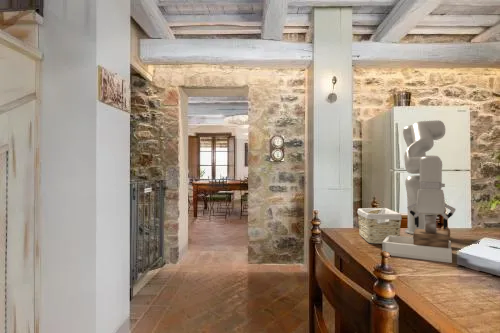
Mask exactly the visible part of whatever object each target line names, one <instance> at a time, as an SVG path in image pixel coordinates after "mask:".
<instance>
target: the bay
mask: <svg viewBox="0 0 500 333" xmlns="http://www.w3.org/2000/svg"><path fill="white" fill-rule="evenodd" d="M381 245H382V252H383V251H386V252H389V253H390V255H391V256H393V257H399V258H400V257H401V258H408V259H418V260H425V261H433V262H440V263H441V262H442V263H447V264H450V263H451V264H452V263H453V252H452V251H453V250H452V242H451V240H449V243H448V248H441V247H431V246H421V245H414V239H413V236H412V237H411V236H401V235H400V236H390V235H388V236H387V237H386V238H385V240H384V241H383V242H382V244H381ZM390 255H389V256H390Z"/></svg>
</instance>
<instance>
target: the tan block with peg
mask: <svg viewBox="0 0 500 333" xmlns="http://www.w3.org/2000/svg"><path fill="white" fill-rule="evenodd" d="M440 230H441V229H440ZM440 230H439V229H438V230H437V224H436V215H425V229H415V231H414V233H413V234H412V235H413V236H412V238H413V239H414V245H421V246H431V247H441V248H448V243H449V241H450V240H449V237H448V231H440Z"/></svg>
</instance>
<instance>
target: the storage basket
mask: <svg viewBox="0 0 500 333" xmlns="http://www.w3.org/2000/svg"><path fill="white" fill-rule="evenodd" d="M357 215H358V216H357V218H358V219H357V220H358V228H359V229H358V231H359V232H358V233H359V236H361V237H362V238H363V239H364V240H365V241H366V242H367V243H369V244H375V245H377V244H380V245H382V242H383V241H384V240H385V238H386V237H387V236H388V235H390V236H401V234H400V233H401V225H402V224H401V223H402V214H401V213H399V212H397V211H394V210H392V209H389V208H387V207H382V208H379V207H377V208H376V207H368V208H366V207H365V208H361V207H359V208H357Z"/></svg>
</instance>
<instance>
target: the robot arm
mask: <svg viewBox="0 0 500 333" xmlns="http://www.w3.org/2000/svg"><path fill="white" fill-rule="evenodd" d="M445 134H446V126H445V123H444V122H443V121H442V120H440V119H439V120H437V119H436V120H424V121H423V120H422V121H417V122H414V124H411V125H410V124H409V125H406V126H405V127H404V128H403V129H402V135H403V138H404V141H405V144H406V147H407V148H406V149H405V152H404V157H403V158H404V159H403V160H404V168H405V171H406V172H407V173H408V174H411V175H410V176H407V177H406V179H405V181H404V182H405V183H404V185H405V190H406V196H407V198H406V200H407V201H406V202H407V207H406V208H407V228H405V230H404V232H405V233H406V234H410V235H413V233H414V231H415V229H425V215H427V214H438V215H440V216H442V217H443V222H442V223H443V224H442V227H443V229H446V227H448V220H449V219H450V218H451V217H452V216H453V215H454V213H455V212H456V208H455V207H453V206H451V205H448V204H447V203H446V202H445V201H446V200H445V194H444V190H443V189H442V188H445V187H446V184H445V183H443V182H442V181H443V178H442V177H443V173H442V172H443V161H442V159H441V157H440V156H438V155H426V152H429V151H430V150H431V149H433V147H434V145H435V144H434V143H435V142H434V141H438V140H440V139H442V138H444V137H445ZM412 174H413V175H412ZM417 174H418V175H417ZM446 209H448V210H450V211H449V213H447V214H446V213H445V212H446ZM448 228H449V227H448Z"/></svg>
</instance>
